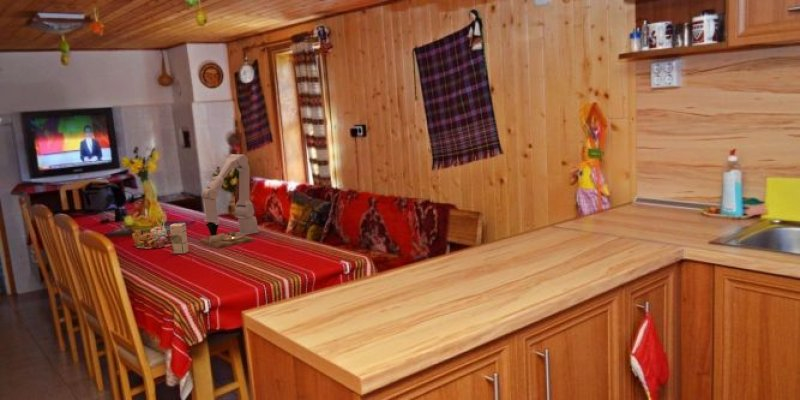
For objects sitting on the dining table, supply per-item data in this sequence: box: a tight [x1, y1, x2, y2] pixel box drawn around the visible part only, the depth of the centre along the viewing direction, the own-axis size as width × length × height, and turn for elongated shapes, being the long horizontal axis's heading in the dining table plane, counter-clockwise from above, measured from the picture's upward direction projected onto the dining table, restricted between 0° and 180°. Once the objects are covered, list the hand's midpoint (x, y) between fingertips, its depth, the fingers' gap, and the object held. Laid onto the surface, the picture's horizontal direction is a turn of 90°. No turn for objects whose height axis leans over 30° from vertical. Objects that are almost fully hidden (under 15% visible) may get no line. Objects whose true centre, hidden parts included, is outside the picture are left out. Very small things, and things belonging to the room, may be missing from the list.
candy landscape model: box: [131, 226, 172, 250], centre depth 329 cm, size 25×24×9 cm
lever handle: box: [208, 231, 243, 243], centre depth 324 cm, size 18×11×3 cm, turn 130°
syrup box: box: [169, 222, 189, 255], centre depth 307 cm, size 6×6×14 cm
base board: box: [199, 231, 255, 249], centre depth 327 cm, size 20×22×2 cm
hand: (213, 236), depth 327 cm, fingers closed
